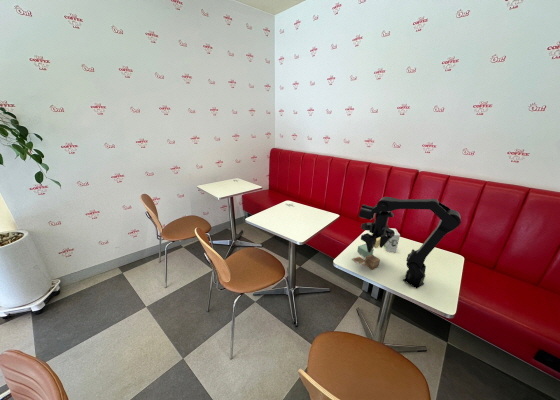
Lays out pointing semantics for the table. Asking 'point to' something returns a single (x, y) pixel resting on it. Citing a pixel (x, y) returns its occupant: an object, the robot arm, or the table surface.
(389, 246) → the ink box
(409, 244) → the table surface
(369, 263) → the walnut cube
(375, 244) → the ochre cube
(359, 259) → the swatch
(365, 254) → the base block
